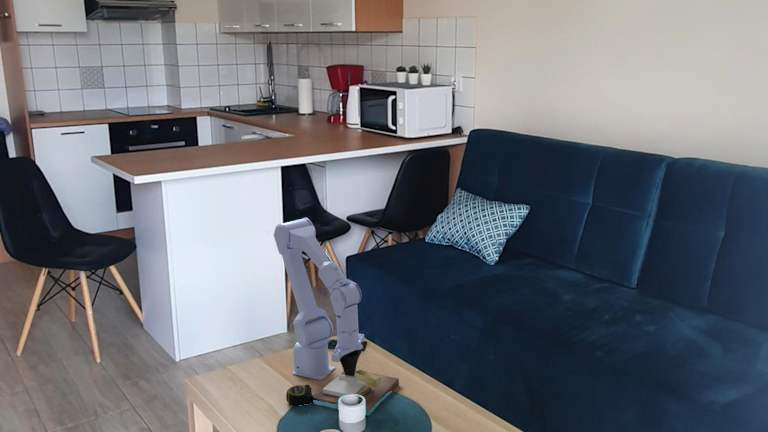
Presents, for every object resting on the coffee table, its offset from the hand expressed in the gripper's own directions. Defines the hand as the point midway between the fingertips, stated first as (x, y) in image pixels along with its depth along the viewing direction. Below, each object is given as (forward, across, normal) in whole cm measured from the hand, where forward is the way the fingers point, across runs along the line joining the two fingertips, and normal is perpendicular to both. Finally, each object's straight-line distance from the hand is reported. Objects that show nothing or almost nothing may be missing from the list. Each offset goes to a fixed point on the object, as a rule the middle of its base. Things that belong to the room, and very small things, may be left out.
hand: (349, 375), depth 188 cm
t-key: (+2, -4, -7) cm, 8 cm away
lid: (+2, -4, -1) cm, 5 cm away
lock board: (+4, -2, -3) cm, 5 cm away
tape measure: (+4, -11, +8) cm, 14 cm away
